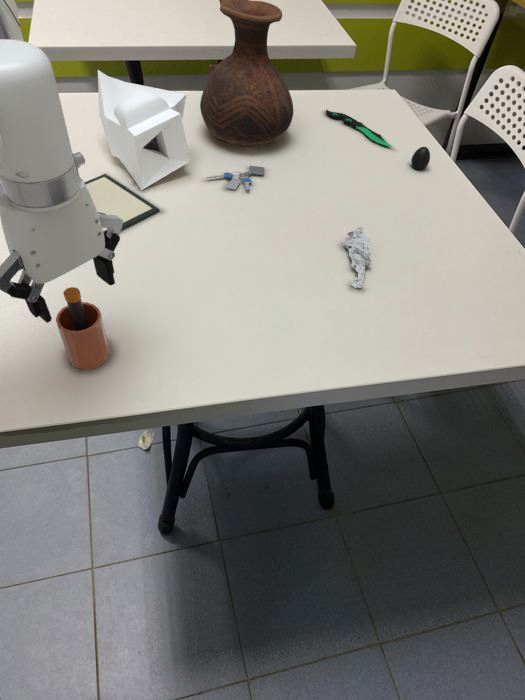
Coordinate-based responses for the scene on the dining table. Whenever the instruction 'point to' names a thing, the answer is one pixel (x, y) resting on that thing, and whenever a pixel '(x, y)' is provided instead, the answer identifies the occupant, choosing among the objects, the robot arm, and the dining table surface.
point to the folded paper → (143, 128)
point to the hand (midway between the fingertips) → (75, 297)
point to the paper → (358, 254)
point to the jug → (247, 81)
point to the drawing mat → (118, 201)
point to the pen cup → (84, 338)
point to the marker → (76, 308)
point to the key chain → (235, 182)
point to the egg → (420, 158)
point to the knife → (358, 126)
